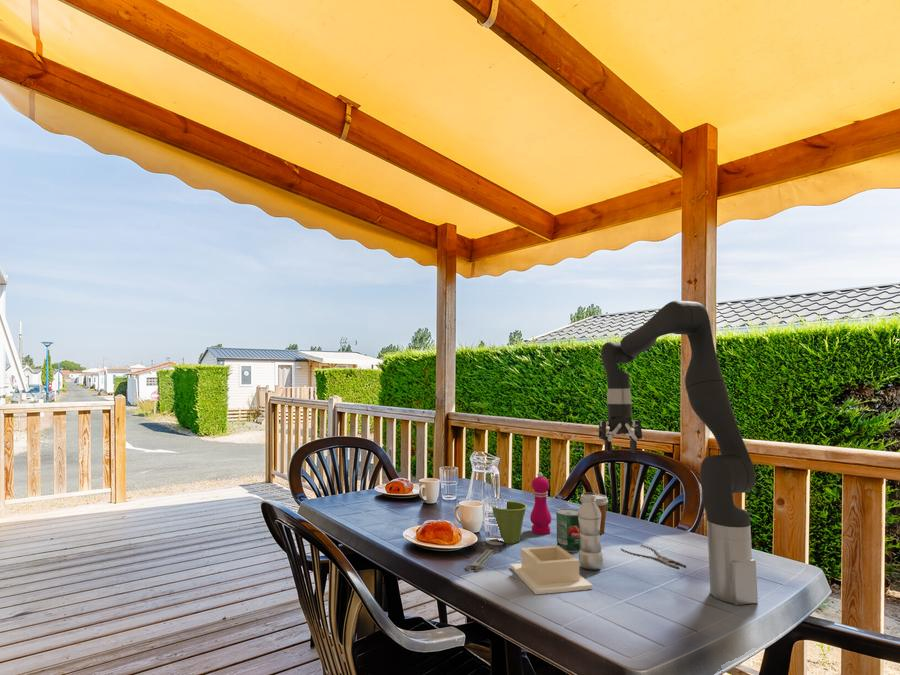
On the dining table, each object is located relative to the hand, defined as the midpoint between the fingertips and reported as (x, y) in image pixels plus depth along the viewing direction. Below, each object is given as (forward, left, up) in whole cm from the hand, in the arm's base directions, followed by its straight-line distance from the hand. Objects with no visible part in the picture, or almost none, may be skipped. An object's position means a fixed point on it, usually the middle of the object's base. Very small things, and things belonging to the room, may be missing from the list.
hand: (621, 452), depth 162 cm
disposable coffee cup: (+13, +3, -29) cm, 31 cm away
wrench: (-5, +48, -29) cm, 57 cm away
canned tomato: (-1, +19, -29) cm, 35 cm away
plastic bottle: (-18, +21, -29) cm, 40 cm away
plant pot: (+10, +35, -29) cm, 47 cm away
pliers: (-13, -3, -29) cm, 32 cm away
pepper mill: (+17, +21, -29) cm, 39 cm away
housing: (-22, +35, -28) cm, 51 cm away
